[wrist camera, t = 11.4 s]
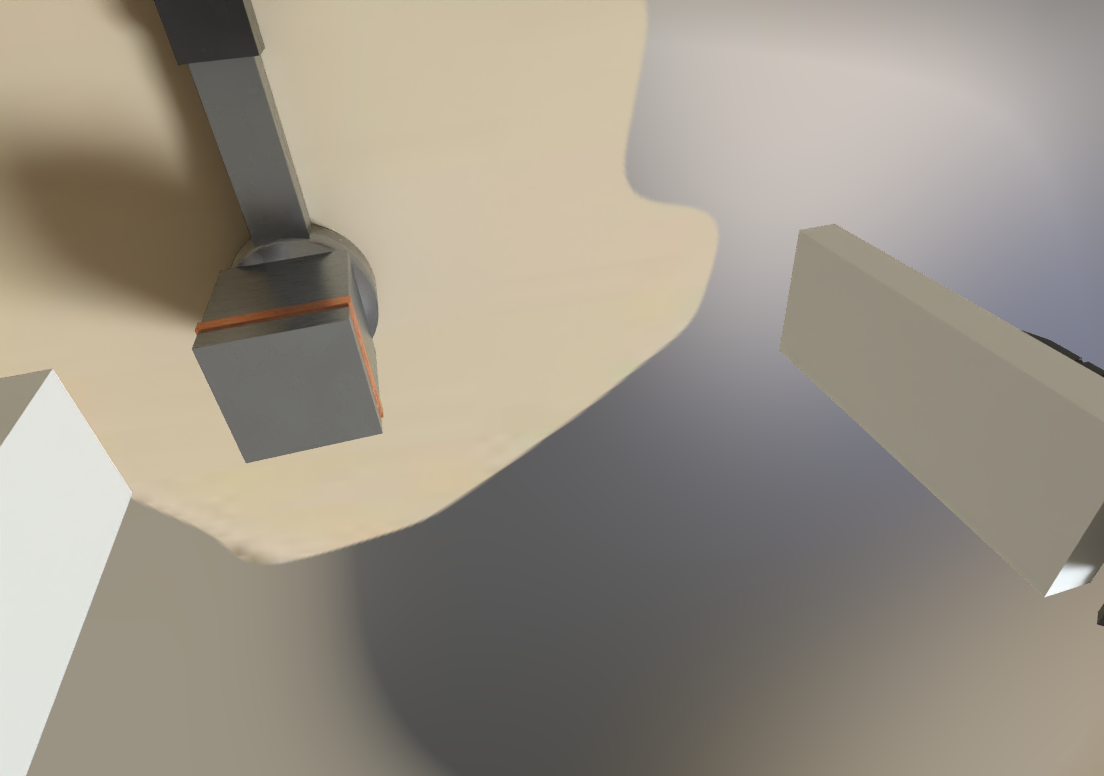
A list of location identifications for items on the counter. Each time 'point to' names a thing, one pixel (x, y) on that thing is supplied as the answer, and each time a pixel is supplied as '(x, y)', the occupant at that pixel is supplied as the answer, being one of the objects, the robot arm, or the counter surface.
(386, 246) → the counter surface
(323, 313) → the orange-striped grey cube
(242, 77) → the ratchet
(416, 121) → the counter surface
